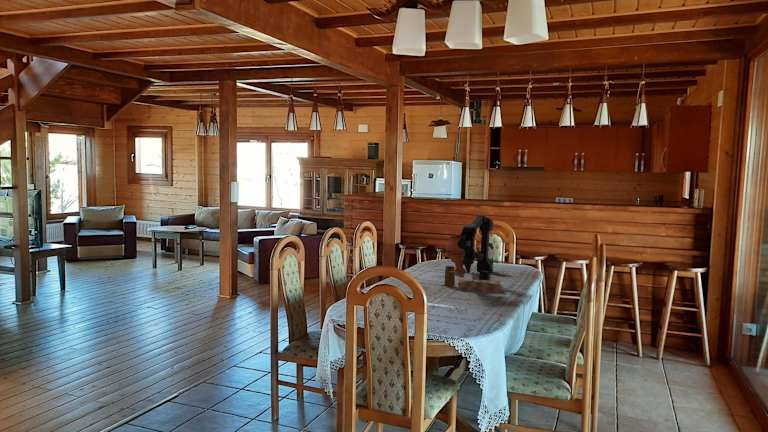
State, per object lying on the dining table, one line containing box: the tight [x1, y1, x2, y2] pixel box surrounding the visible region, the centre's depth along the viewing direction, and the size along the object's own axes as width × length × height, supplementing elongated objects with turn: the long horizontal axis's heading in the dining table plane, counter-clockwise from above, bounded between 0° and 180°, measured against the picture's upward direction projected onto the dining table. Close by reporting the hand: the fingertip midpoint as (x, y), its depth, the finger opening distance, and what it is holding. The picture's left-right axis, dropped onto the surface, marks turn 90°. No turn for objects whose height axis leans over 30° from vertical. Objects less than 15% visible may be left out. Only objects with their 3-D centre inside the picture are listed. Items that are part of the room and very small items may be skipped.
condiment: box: [439, 265, 456, 288], centre depth 348 cm, size 7×8×12 cm
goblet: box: [445, 234, 467, 274], centre depth 395 cm, size 19×19×25 cm
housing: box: [457, 278, 501, 293], centre depth 338 cm, size 24×9×5 cm, turn 79°
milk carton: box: [478, 242, 495, 270], centre depth 399 cm, size 9×9×20 cm
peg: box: [463, 272, 473, 282], centre depth 339 cm, size 4×4×4 cm
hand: (468, 273), depth 339 cm, fingers closed
